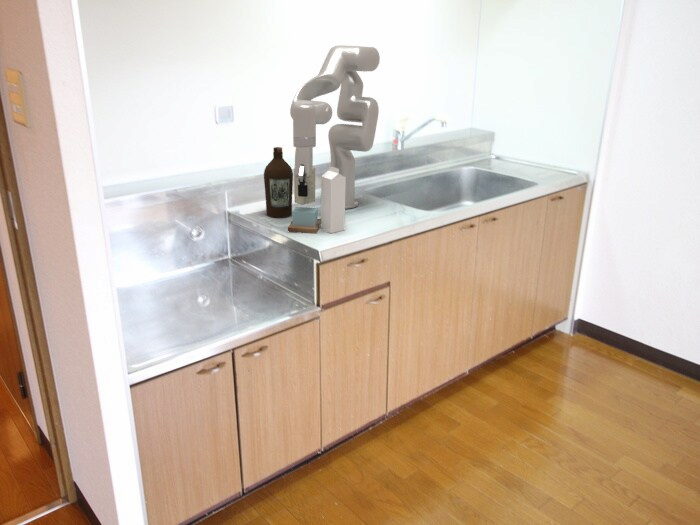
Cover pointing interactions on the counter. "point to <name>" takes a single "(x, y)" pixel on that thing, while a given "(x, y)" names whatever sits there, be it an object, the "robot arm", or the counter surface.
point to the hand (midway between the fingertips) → (304, 193)
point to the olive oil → (278, 186)
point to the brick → (304, 216)
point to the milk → (333, 201)
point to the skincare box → (311, 189)
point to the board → (304, 228)
